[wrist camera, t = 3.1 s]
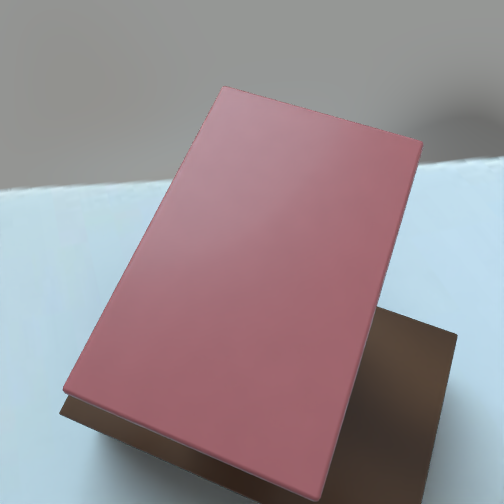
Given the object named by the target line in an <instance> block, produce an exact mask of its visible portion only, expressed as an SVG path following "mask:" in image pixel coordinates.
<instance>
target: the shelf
mask: <svg viewBox="0 0 504 504" xmlns="http://www.w3.org/2000/svg"><path fill="white" fill-rule="evenodd" d="M456 341H457V334H455V333H452V332H449V331H446V330H443V329H440V328H438V327H435V326H432V325H429V324H426V323H423V322H420V321H417V320H415V319H412V318H409V317H406V316H403V315H400V314H397V313H395V312H392V311H389V310H386V309H383V308H380V307H376V310H375V314H374V317H373V321H372V324H371V328H370V331H369V334H368V338H367V341H366V345H365V348H364V351H363V355H362V358H361V362H360V365H359V369H358V372H357V375H356V379H355V382H354V386H353V389H352V392H351V396H350V399H349V403H348V406H347V410H346V413H345V416H344V420H343V423H342V427H341V430H340V433H339V437H338V440H337V444H336V447H335V451H334V454H333V457H332V461H331V464H330V468H329V471H328V474H327V478H326V481H325V485H324V488H323V492H322V495H321V498H320V499H319V500H318V501H311V500H309V499H307V498H304V497H302V496H300V495H297V494H295V493H293V492H290V491H288V490H286V489H284V488H281V487H279V486H277V485H274V484H272V483H270V482H267V481H265V480H263V479H261V478H258V477H256V476H254V475H251V474H249V473H247V472H244V471H242V470H240V469H238V468H235V467H233V466H231V465H228V464H226V463H224V462H221V461H219V460H217V459H215V458H212V457H210V456H208V455H205V454H203V453H201V452H198V451H196V450H194V449H192V448H189V447H187V446H185V445H182V444H180V443H178V442H175V441H173V440H171V439H169V438H166V437H164V436H162V435H159V434H157V433H155V432H152V431H150V430H148V429H146V428H143V427H141V426H139V425H136V424H134V423H132V422H129V421H127V420H125V419H123V418H120V417H118V416H116V415H113V414H111V413H109V412H106V411H104V410H102V409H100V408H97V407H95V406H93V405H90V404H88V403H86V402H84V401H81V400H79V399H77V398H74V397H72V396H70V395H68V397H67V399H66V401H65V403H64V405H63V407H62V409H61V411H60V413H59V414H60V415H62V416H64V417H67V418H69V419H71V420H73V421H76V422H78V423H80V424H82V425H85V426H87V427H89V428H91V429H94V430H96V431H98V432H100V433H103V434H105V435H107V436H109V437H112V438H114V439H116V440H118V441H121V442H123V443H125V444H127V445H130V446H132V447H134V448H136V449H139V450H141V451H143V452H145V453H148V454H150V455H152V456H154V457H156V458H159V459H161V460H163V461H165V462H168V463H170V464H172V465H174V466H177V467H179V468H181V469H183V470H186V471H188V472H190V473H192V474H195V475H197V476H199V477H201V478H204V479H206V480H208V481H210V482H213V483H215V484H217V485H219V486H222V487H224V488H226V489H228V490H231V491H233V492H235V493H237V494H240V495H242V496H244V497H246V498H249V499H251V500H253V501H255V502H258V503H260V504H421V503H422V498H423V494H424V489H425V484H426V480H427V475H428V470H429V466H430V461H431V457H432V452H433V447H434V443H435V438H436V433H437V429H438V424H439V420H440V415H441V410H442V406H443V401H444V396H445V392H446V387H447V383H448V378H449V373H450V369H451V364H452V359H453V355H454V350H455V346H456Z"/></svg>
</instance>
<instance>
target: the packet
mask: <svg viewBox="0 0 504 504" xmlns="http://www.w3.org/2000/svg"><path fill="white" fill-rule="evenodd" d="M422 150H423V142H422V141H419V140H416V139H412V138H408V137H405V136H401V135H398V134H394V133H391V132H387V131H384V130H380V129H377V128H373V127H369V126H366V125H362V124H359V123H355V122H352V121H348V120H345V119H341V118H337V117H334V116H330V115H327V114H323V113H320V112H316V111H312V110H309V109H306V108H302V107H298V106H295V105H291V104H288V103H284V102H280V101H277V100H274V99H270V98H266V97H262V96H259V95H255V94H252V93H249V92H245V91H242V90H238V89H234V88H231V87H227V86H223V87H222V89H221V91H220V93H219V94H218V96H217V98H216V100H215V102H214V104H213V106H212V107H211V109H210V111H209V113H208V115H207V117H206V119H205V121H204V122H203V124H202V126H201V128H200V130H199V132H198V134H197V136H196V138H195V140H194V141H193V143H192V145H191V147H190V149H189V151H188V153H187V155H186V156H185V158H184V160H183V162H182V164H181V166H180V168H179V170H178V172H177V173H176V175H175V177H174V179H173V181H172V183H171V185H170V187H169V188H168V190H167V192H166V194H165V196H164V198H163V200H162V202H161V204H160V205H159V207H158V209H157V211H156V213H155V215H154V217H153V219H152V221H151V222H150V224H149V226H148V228H147V230H146V232H145V234H144V236H143V238H142V239H141V241H140V243H139V245H138V247H137V249H136V251H135V253H134V254H133V256H132V258H131V260H130V262H129V264H128V266H127V268H126V270H125V271H124V273H123V275H122V277H121V279H120V281H119V283H118V285H117V287H116V288H115V290H114V292H113V294H112V296H111V298H110V300H109V302H108V304H107V305H106V307H105V309H104V311H103V313H102V315H101V317H100V319H99V320H98V322H97V324H96V326H95V328H94V330H93V332H92V334H91V336H90V337H89V339H88V341H87V343H86V345H85V347H84V349H83V351H82V353H81V354H80V356H79V358H78V360H77V362H76V364H75V366H74V368H73V370H72V371H71V373H70V375H69V377H68V379H67V381H66V383H65V385H64V386H63V391H64V393H65V394H67V395H70V396H72V397H74V398H77V399H79V400H81V401H84V402H86V403H88V404H90V405H93V406H95V407H97V408H100V409H102V410H104V411H106V412H109V413H111V414H113V415H116V416H118V417H120V418H123V419H125V420H127V421H129V422H132V423H134V424H136V425H139V426H141V427H143V428H146V429H148V430H150V431H152V432H155V433H157V434H159V435H162V436H164V437H166V438H169V439H171V440H173V441H175V442H178V443H180V444H182V445H185V446H187V447H189V448H192V449H194V450H196V451H198V452H201V453H203V454H205V455H208V456H210V457H212V458H215V459H217V460H219V461H221V462H224V463H226V464H228V465H231V466H233V467H235V468H238V469H240V470H242V471H244V472H247V473H249V474H251V475H254V476H256V477H258V478H261V479H263V480H265V481H267V482H270V483H272V484H274V485H277V486H279V487H281V488H284V489H286V490H288V491H290V492H293V493H295V494H297V495H300V496H302V497H304V498H307V499H309V500H311V501H318V500H319V499H320V498H321V495H322V492H323V488H324V485H325V481H326V478H327V474H328V471H329V468H330V464H331V461H332V457H333V454H334V451H335V447H336V444H337V440H338V437H339V433H340V430H341V427H342V423H343V420H344V416H345V413H346V410H347V406H348V403H349V399H350V396H351V392H352V389H353V386H354V382H355V379H356V375H357V372H358V369H359V365H360V362H361V358H362V355H363V351H364V348H365V345H366V341H367V338H368V334H369V331H370V328H371V324H372V321H373V317H374V314H375V310H376V307H377V304H378V300H379V297H380V293H381V290H382V287H383V283H384V280H385V276H386V273H387V269H388V266H389V263H390V259H391V256H392V252H393V249H394V246H395V242H396V239H397V235H398V232H399V228H400V225H401V222H402V218H403V215H404V211H405V208H406V205H407V201H408V198H409V194H410V191H411V187H412V184H413V181H414V177H415V174H416V170H417V167H418V163H419V160H420V157H421V153H422Z"/></svg>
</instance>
